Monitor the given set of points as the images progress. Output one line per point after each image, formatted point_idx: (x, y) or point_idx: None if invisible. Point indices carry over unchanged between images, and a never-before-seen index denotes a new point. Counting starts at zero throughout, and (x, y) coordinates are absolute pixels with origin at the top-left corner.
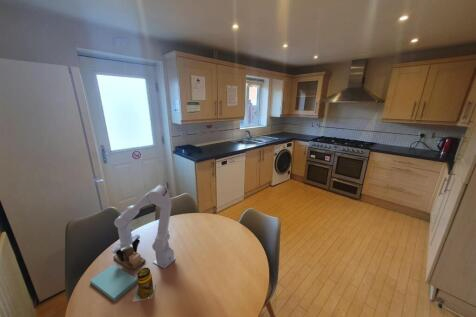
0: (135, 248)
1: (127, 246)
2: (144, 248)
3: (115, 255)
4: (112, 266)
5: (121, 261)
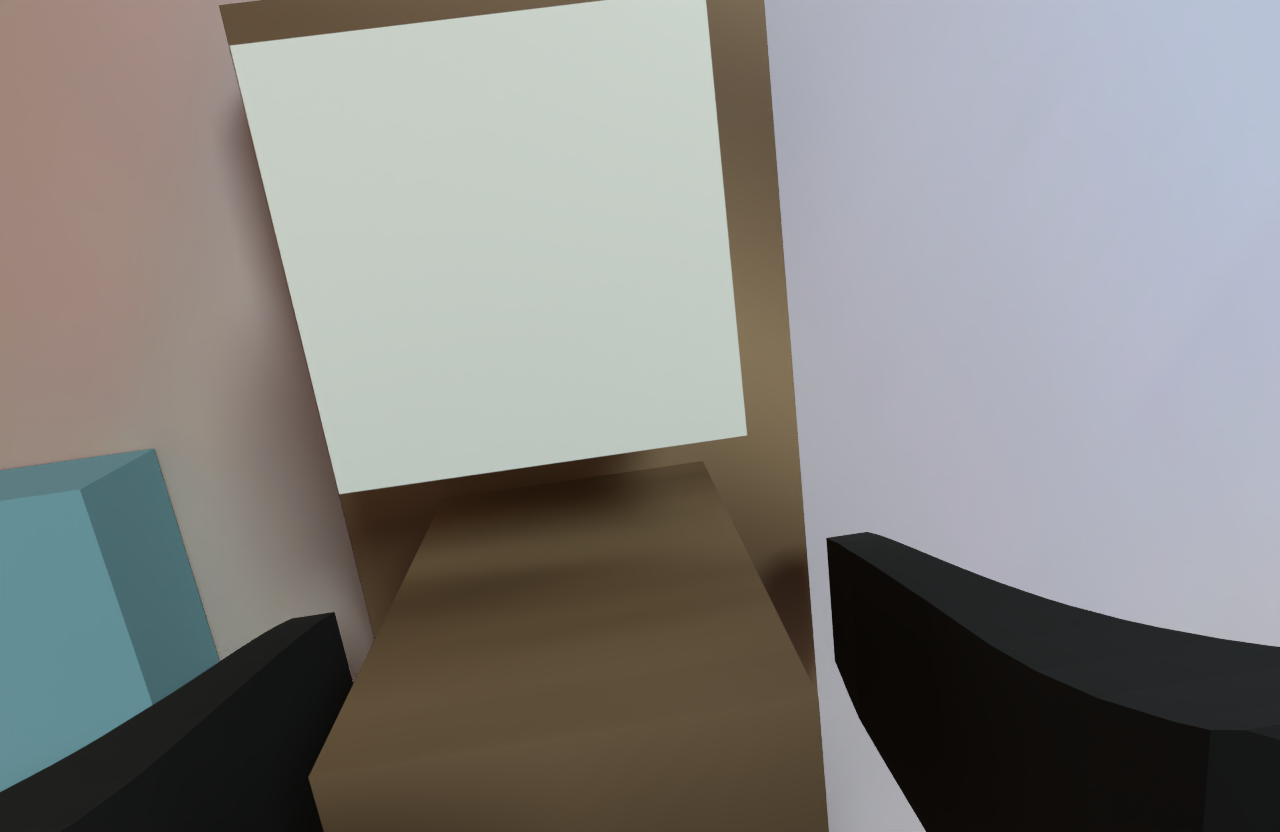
0: (926, 799)
1: (714, 720)
2: (1146, 402)
3: (307, 23)
4: (37, 577)
5: (354, 555)
